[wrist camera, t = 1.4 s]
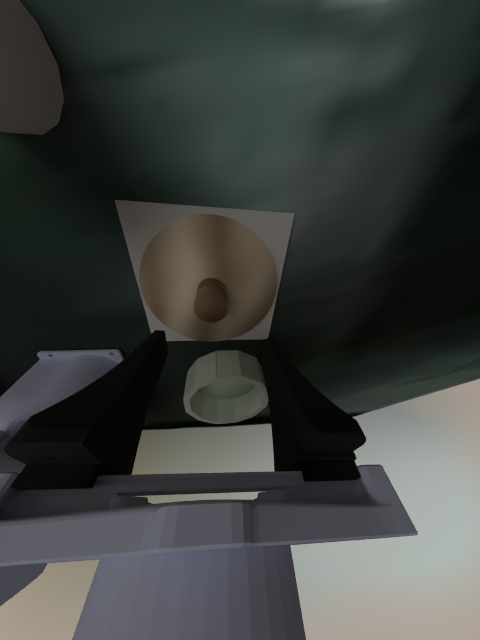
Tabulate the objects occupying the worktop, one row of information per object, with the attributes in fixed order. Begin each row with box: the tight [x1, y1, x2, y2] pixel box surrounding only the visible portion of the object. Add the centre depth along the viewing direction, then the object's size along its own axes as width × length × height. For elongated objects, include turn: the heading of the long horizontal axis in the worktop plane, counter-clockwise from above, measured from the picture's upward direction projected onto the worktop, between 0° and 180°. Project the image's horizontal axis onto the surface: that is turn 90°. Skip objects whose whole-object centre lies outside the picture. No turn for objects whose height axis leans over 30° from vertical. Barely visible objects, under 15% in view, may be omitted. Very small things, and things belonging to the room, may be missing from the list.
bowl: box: [183, 350, 268, 424], centre depth 28 cm, size 12×12×4 cm
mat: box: [115, 200, 294, 341], centre depth 20 cm, size 15×15×1 cm
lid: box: [139, 214, 277, 341], centre depth 18 cm, size 14×14×4 cm
